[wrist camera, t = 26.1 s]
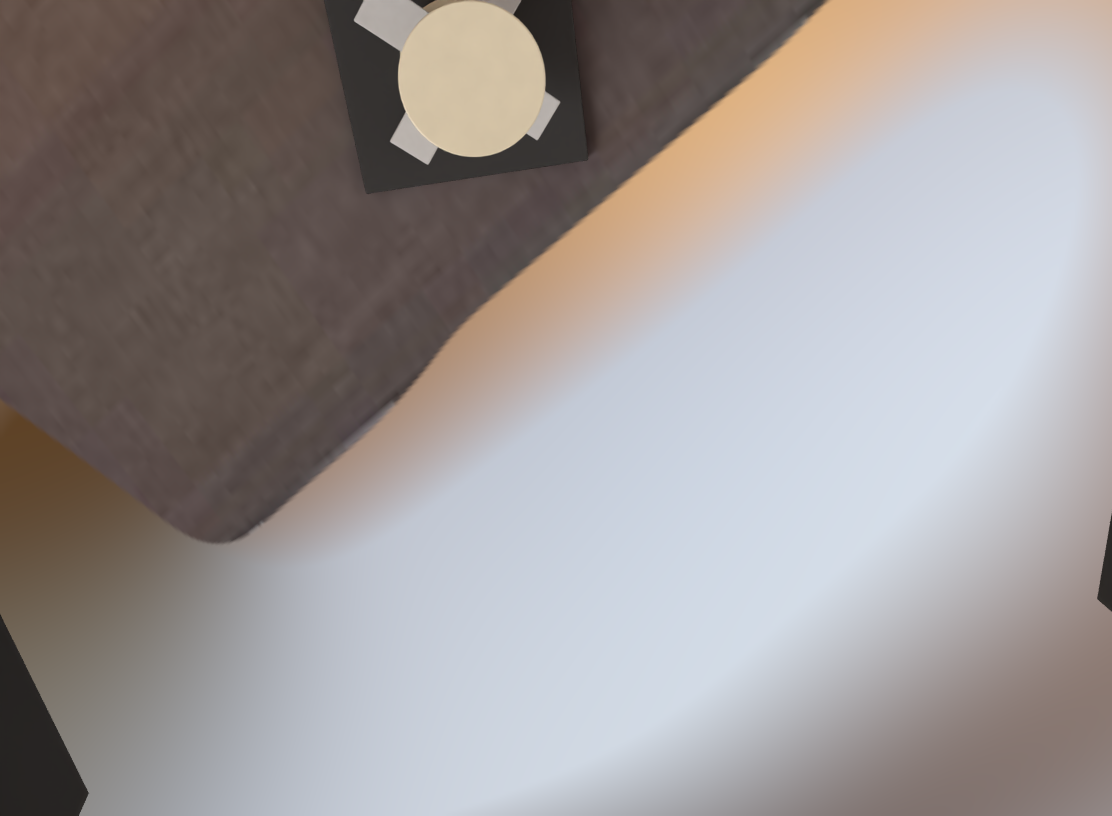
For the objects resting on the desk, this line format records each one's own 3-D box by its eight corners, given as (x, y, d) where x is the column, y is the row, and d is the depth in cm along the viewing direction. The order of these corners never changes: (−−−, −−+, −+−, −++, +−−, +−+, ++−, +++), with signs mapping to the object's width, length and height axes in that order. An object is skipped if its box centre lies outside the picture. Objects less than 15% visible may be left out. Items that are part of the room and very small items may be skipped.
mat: (558, -93, 35) (560, -95, 35) (586, 158, 39) (588, 160, 39) (312, -61, 34) (310, -62, 34) (367, 191, 39) (366, 194, 38)
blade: (419, -100, 34) (411, -175, 21) (595, 27, 37) (683, 30, 24) (321, 93, 36) (258, 132, 23) (492, 198, 39) (522, 287, 26)
